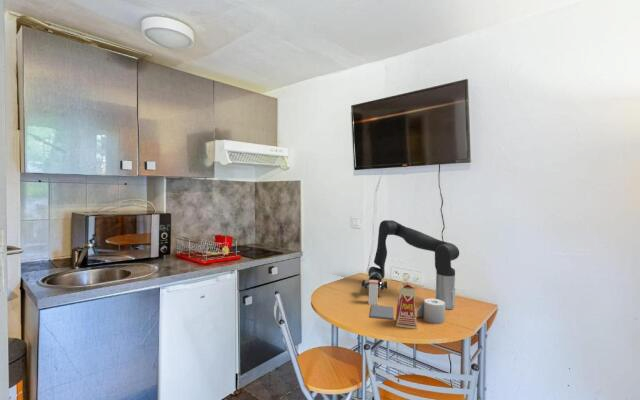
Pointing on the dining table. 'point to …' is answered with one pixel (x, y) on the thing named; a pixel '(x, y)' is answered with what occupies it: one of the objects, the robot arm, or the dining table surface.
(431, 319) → the toilet tissue
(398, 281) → the dining table surface
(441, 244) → the robot arm
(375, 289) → the block
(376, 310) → the mat
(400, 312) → the milk carton
